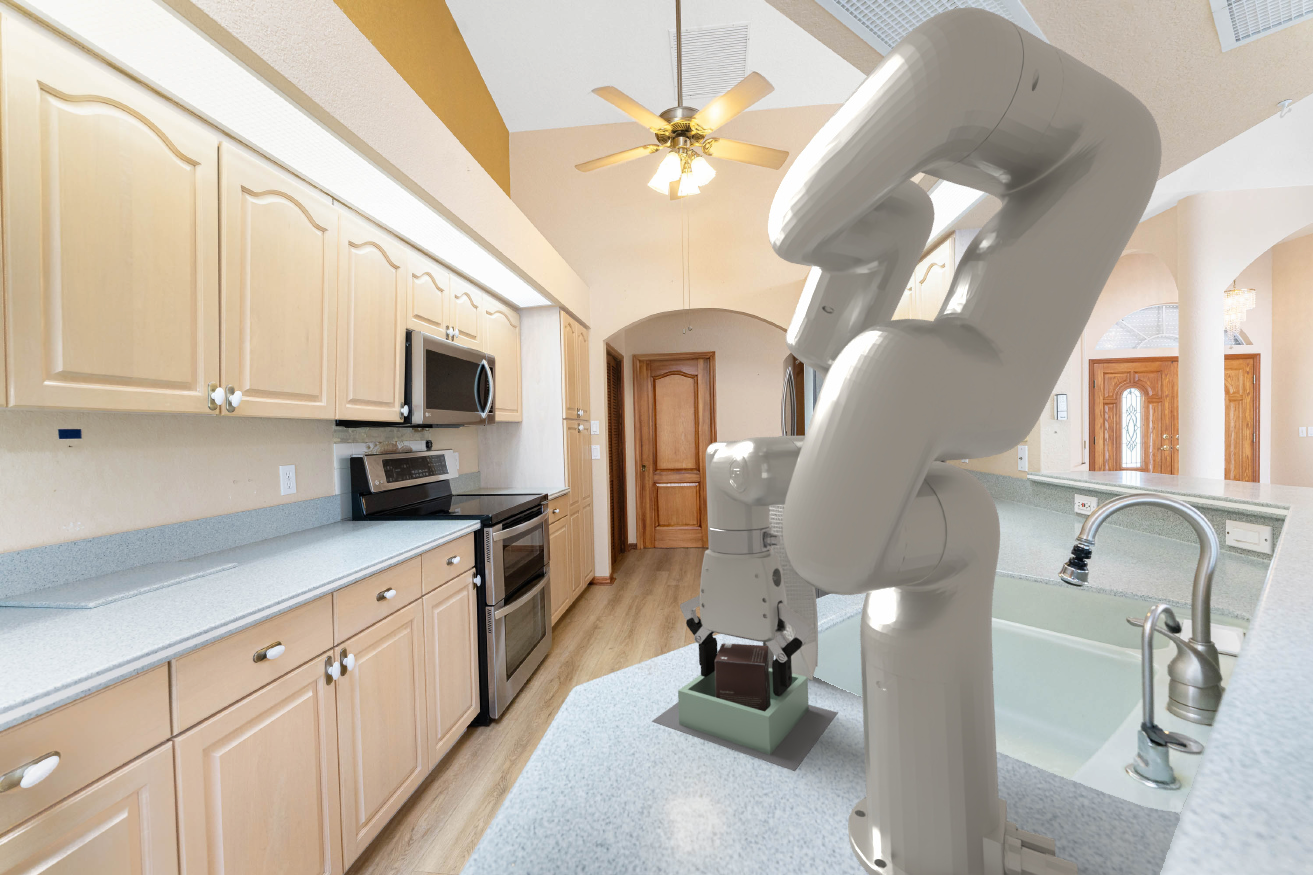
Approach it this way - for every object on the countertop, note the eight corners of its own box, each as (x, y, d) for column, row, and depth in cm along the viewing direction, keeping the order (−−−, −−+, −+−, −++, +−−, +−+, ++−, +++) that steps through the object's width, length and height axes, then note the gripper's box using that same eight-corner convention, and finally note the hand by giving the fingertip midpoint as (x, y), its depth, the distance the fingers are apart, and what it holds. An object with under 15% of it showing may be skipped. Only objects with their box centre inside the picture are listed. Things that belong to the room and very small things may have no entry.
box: (767, 729, 60) (765, 664, 60) (715, 723, 62) (713, 660, 62) (771, 703, 66) (769, 644, 66) (723, 699, 68) (721, 641, 68)
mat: (837, 715, 64) (837, 712, 64) (794, 774, 53) (794, 770, 53) (710, 681, 75) (710, 678, 75) (651, 724, 64) (651, 721, 64)
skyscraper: (771, 660, 82) (765, 481, 83) (825, 667, 79) (818, 481, 80) (762, 683, 75) (754, 485, 75) (821, 691, 72) (813, 485, 72)
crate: (808, 709, 65) (807, 676, 65) (770, 754, 56) (768, 716, 56) (726, 687, 72) (725, 657, 72) (679, 724, 63) (678, 690, 63)
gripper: (819, 541, 63) (824, 687, 62) (695, 532, 73) (699, 657, 72) (795, 552, 56) (801, 713, 56) (663, 540, 67) (668, 677, 66)
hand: (744, 681), depth 64 cm, fingers open, 9 cm apart
